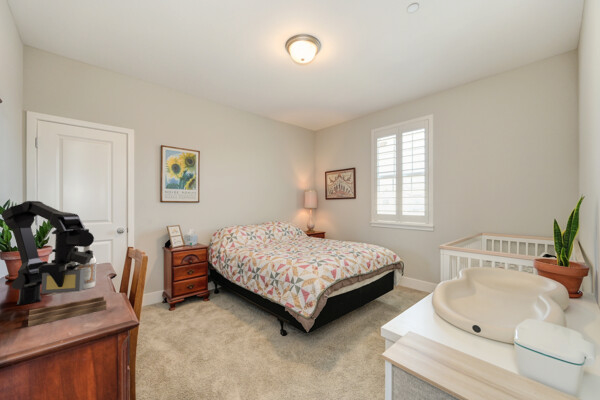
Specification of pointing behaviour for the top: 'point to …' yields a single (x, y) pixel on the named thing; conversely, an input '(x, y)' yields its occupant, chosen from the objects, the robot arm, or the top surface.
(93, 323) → the top surface
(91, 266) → the bath foam
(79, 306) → the picture ledge
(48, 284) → the photo frame
